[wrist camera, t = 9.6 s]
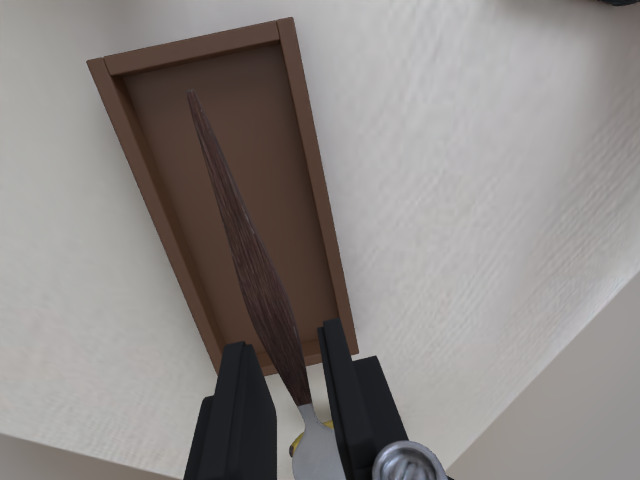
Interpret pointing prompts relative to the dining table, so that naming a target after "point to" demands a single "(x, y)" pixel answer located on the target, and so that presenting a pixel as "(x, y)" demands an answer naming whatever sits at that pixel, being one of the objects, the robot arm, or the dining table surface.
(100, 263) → the dining table surface
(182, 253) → the tray
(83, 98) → the dining table surface
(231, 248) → the fork
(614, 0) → the handheld console
